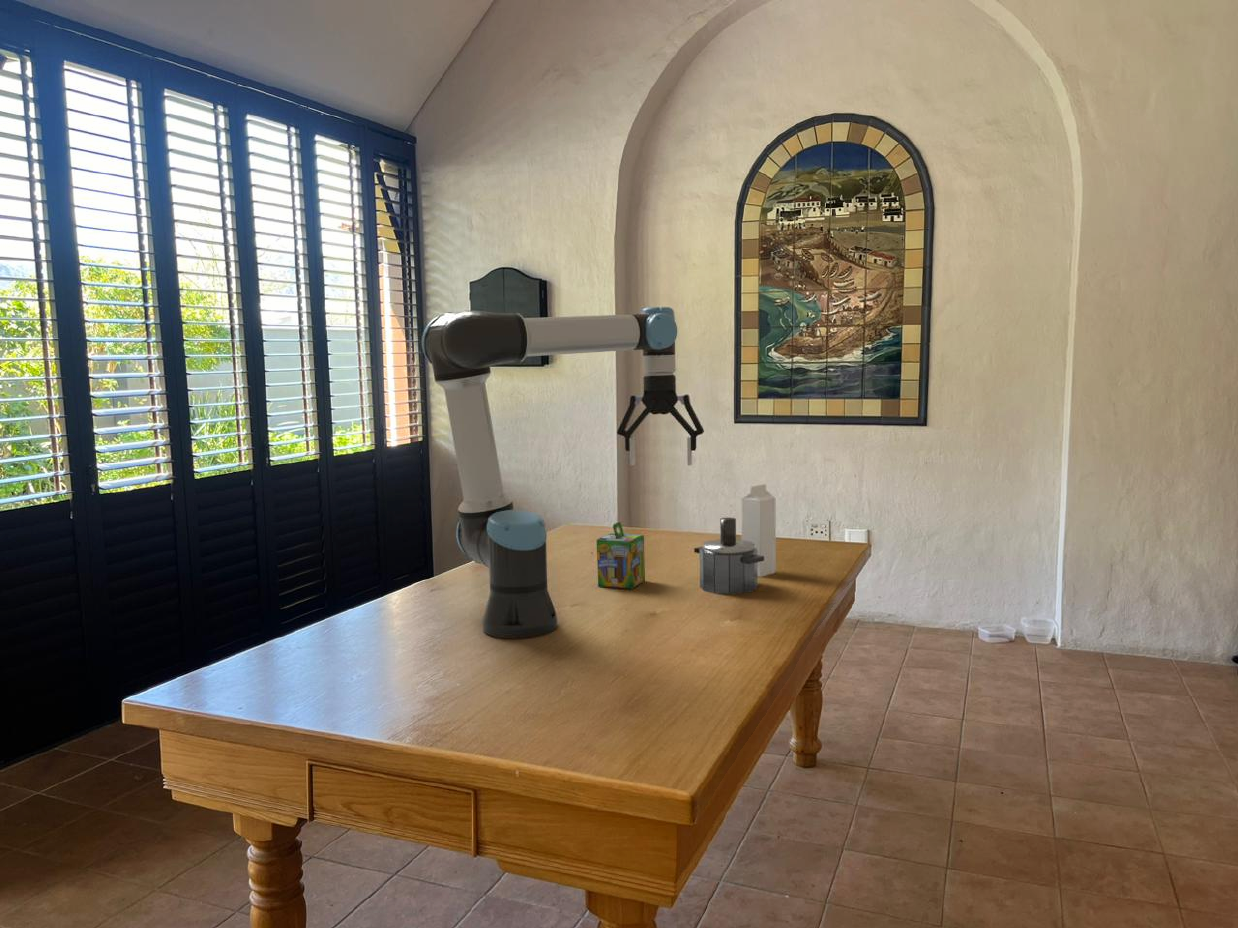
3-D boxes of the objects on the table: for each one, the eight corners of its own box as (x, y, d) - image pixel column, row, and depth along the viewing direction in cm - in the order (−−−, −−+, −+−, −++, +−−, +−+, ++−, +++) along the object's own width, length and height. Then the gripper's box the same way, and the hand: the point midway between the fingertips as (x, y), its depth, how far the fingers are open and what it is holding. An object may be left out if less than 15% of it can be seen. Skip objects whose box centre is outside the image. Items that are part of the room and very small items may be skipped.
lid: (729, 561, 211) (729, 525, 210) (691, 553, 220) (691, 519, 219) (764, 553, 219) (764, 518, 218) (727, 545, 228) (727, 512, 227)
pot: (737, 599, 210) (736, 559, 208) (682, 584, 223) (682, 547, 222) (775, 588, 218) (775, 550, 217) (720, 575, 231) (720, 539, 230)
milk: (775, 573, 233) (776, 485, 230) (760, 577, 229) (760, 488, 226) (756, 569, 237) (756, 482, 234) (741, 573, 233) (741, 485, 230)
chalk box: (632, 590, 220) (631, 527, 218) (596, 587, 223) (595, 525, 221) (646, 580, 228) (645, 520, 226) (611, 577, 232) (610, 518, 230)
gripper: (714, 372, 220) (715, 462, 223) (609, 374, 224) (611, 462, 227) (711, 373, 213) (712, 466, 215) (603, 375, 217) (606, 466, 220)
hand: (661, 464), depth 221 cm, fingers open, 13 cm apart
